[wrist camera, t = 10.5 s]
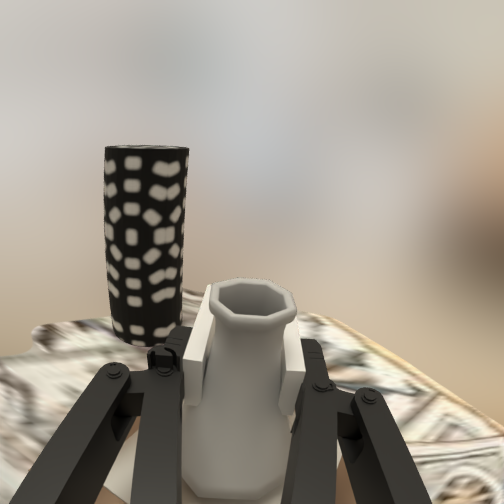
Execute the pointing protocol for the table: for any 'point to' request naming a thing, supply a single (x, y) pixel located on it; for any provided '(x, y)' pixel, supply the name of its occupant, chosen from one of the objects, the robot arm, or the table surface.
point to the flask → (240, 395)
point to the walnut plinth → (120, 483)
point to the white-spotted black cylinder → (145, 239)
